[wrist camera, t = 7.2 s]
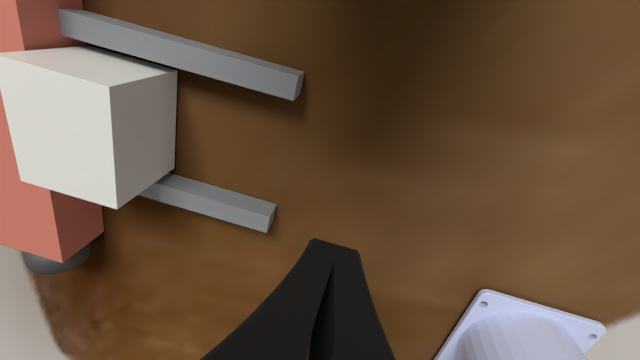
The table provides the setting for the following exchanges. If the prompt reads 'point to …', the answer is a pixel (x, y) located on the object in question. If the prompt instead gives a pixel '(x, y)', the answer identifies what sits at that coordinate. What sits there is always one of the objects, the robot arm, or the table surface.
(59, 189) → the white block
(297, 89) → the forklift
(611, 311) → the table surface
